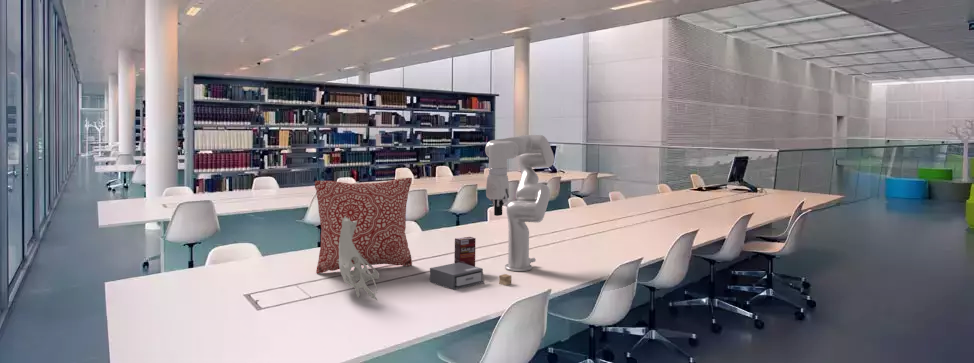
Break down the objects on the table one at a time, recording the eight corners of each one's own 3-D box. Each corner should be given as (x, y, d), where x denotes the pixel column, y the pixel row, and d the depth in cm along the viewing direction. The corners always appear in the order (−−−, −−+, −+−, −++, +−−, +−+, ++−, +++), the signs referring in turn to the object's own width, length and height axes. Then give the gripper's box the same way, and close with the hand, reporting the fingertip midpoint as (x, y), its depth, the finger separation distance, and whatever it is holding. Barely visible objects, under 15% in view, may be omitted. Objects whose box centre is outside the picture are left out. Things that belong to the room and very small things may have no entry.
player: (459, 275, 256) (459, 261, 256) (483, 282, 244) (483, 268, 244) (430, 282, 245) (429, 267, 245) (453, 289, 234) (453, 274, 233)
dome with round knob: (459, 276, 248) (459, 272, 248) (468, 279, 244) (469, 275, 243) (448, 278, 244) (448, 274, 244) (457, 281, 240) (457, 277, 240)
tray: (458, 274, 254) (458, 266, 254) (481, 281, 243) (481, 272, 243) (434, 279, 245) (434, 271, 245) (457, 286, 234) (457, 278, 234)
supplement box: (459, 275, 257) (460, 240, 255) (454, 273, 260) (453, 238, 259) (476, 272, 262) (476, 237, 260) (469, 270, 265) (469, 236, 264)
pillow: (318, 278, 251) (315, 181, 247) (314, 269, 266) (312, 178, 262) (416, 269, 267) (416, 178, 263) (408, 262, 282) (407, 176, 278)
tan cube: (505, 282, 246) (505, 273, 245) (511, 283, 243) (511, 275, 243) (499, 283, 243) (499, 275, 243) (505, 285, 241) (505, 277, 240)
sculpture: (389, 302, 217) (388, 222, 214) (341, 306, 212) (339, 224, 209) (380, 280, 248) (379, 210, 245) (338, 283, 243) (336, 212, 240)
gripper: (479, 171, 246) (479, 214, 248) (503, 174, 235) (504, 218, 237) (492, 170, 251) (492, 212, 253) (517, 172, 240) (517, 216, 242)
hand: (498, 215), depth 245 cm, fingers closed
